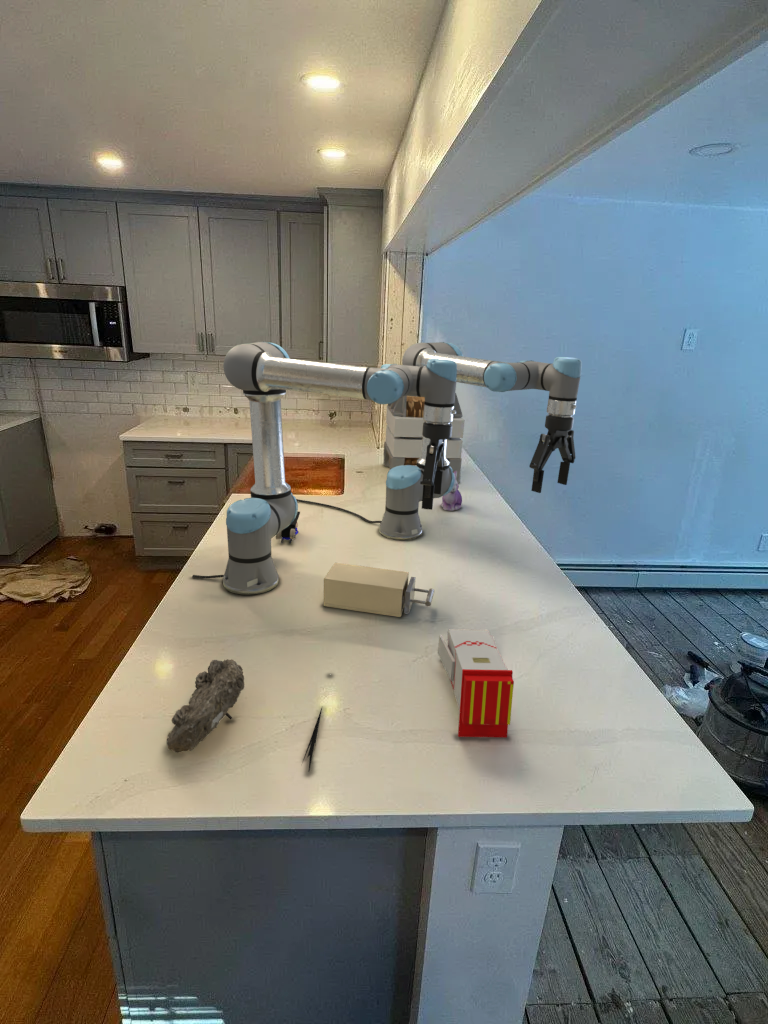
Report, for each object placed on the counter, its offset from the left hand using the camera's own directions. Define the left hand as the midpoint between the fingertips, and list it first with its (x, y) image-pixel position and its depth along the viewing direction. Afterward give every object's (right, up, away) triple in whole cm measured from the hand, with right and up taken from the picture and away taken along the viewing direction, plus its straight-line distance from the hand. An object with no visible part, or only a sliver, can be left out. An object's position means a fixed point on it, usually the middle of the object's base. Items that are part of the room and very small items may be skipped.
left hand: (431, 500), depth 152 cm
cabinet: (-18, -27, +1) cm, 33 cm away
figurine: (+14, -1, +77) cm, 79 cm away
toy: (+5, -41, -33) cm, 53 cm away
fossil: (-45, -42, -44) cm, 76 cm away
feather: (-25, -43, -43) cm, 66 cm away
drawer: (-12, -27, 0) cm, 30 cm away
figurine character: (-45, -12, +41) cm, 62 cm away
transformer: (+5, +16, +123) cm, 124 cm away
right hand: (+35, +4, +13) cm, 38 cm away
